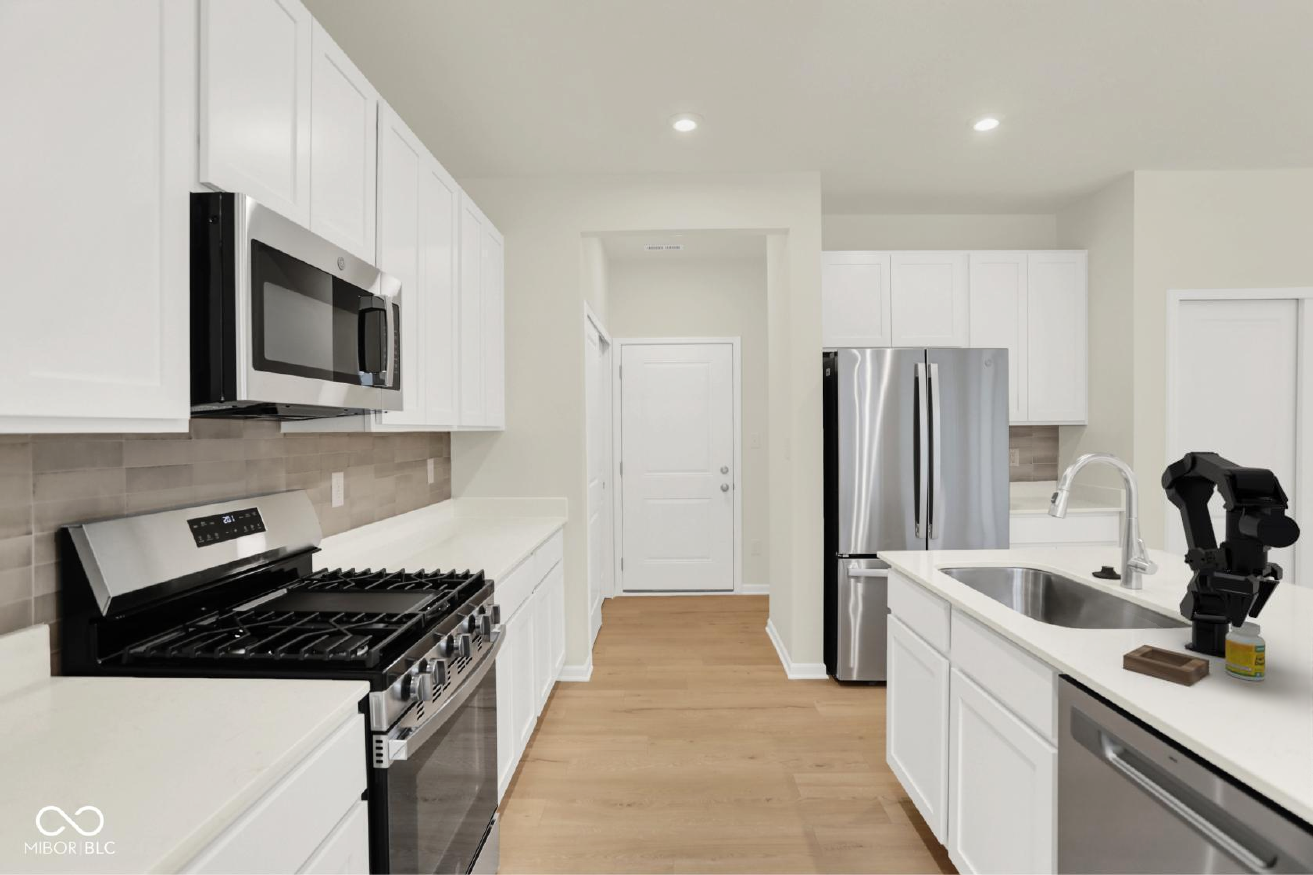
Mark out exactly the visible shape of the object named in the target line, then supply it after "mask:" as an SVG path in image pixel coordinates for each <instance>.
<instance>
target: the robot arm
mask: <svg viewBox="0 0 1313 875" xmlns="http://www.w3.org/2000/svg"><path fill="white" fill-rule="evenodd" d="M1160 481H1161V486H1162V489H1163V490H1165V493H1166V497H1167V498H1166V499H1167V500H1168V501H1169V502H1171V504H1173V505H1174V506H1175V507H1176V508H1178V510H1179V512H1180V514H1179V515H1180V517H1181V518H1180V519H1181V522H1182V527H1183V531H1184V535H1185V539H1186V544H1187V553H1185V554H1184V563H1185V564H1186V565H1188V566H1189V568H1190V571H1192V572H1193V574H1192V576H1191V578H1190V580H1189V582H1188V583H1187V585H1186V593H1185V595H1184V597H1183V598H1182V600H1181V601H1180V603H1179V611H1180V616H1182V617H1183V618H1185V619H1186V620H1188V621H1189V622H1191V642H1189V643H1187V644H1185V645H1184V648H1185V649H1187V650H1192V651H1196V652H1200V653H1203V654H1208V655H1213V656H1217V657H1222V658H1226V634H1227V633H1229V632H1230V625H1231V623H1232V626H1234V627H1238V628H1240V627H1241V626H1242V625H1243V623H1244V621H1246V619H1247V617H1248V618H1252V619H1257V618H1258V617H1259V615H1260V614H1261V612H1262V610H1263V609H1264V607H1265V606H1266V604H1267V602H1268V601H1269V599H1270V598H1271V596H1272V595H1273V593H1274V592H1275V590H1276V589H1277V587H1278V586H1279V584H1280V583H1281V580H1283V574H1284V569H1283V567H1281V566H1280V565H1279V564H1278V563H1277V562H1272V561H1269V558H1268V557H1269V555H1268V554H1269V551H1270V550H1272V548H1274V549H1283V548H1288V547H1291V546H1292V545H1294V544H1295V543H1296V542H1297V541H1298V539H1299V538H1300V535H1301V529H1300V527H1299V525H1298V523H1297V522H1296V521H1295V519H1293V518H1292V517H1290V516H1288V515H1286V510H1289V505H1288V503H1289V498H1288V496H1287V494H1286V493H1285V491H1284V489H1283V487H1282V486H1281V483H1280V480H1279V479H1278V477H1277V476H1276V475H1275V474H1274V472H1273V471H1272V470H1270V469H1268V468H1261V467H1249V466H1247V467H1246V466H1241V465H1239V464H1237V463H1235V462H1233V461H1231V460H1229V459H1226V458H1224V457H1223V456H1220V454H1219V453H1218V452H1214V451H1190V452H1186V453H1185V454H1184V456H1183V457H1182V458H1180V459H1179V460H1177V461H1175V462H1173V463H1171V464H1169V465H1167V467H1166V468H1165V470H1164V472H1163V473H1162V475H1161V479H1160ZM1216 486H1217V487H1216ZM1215 487H1216V488H1217V489H1216V492H1218V493H1219V494H1220V496H1221V497H1222V499H1223V502H1224V503H1223V505H1222V508H1223V509H1224V510H1225V537H1224V538H1225V539H1224V541H1221V542H1220V543H1219V547H1218V542H1217V538H1216V535H1215V534H1216V533H1215V531H1214V530H1215V529H1214V526H1213V523H1212V519H1211V518H1212V517H1211V514H1210V510H1209V506H1208V503H1209V502H1210V500H1211V499H1212V498H1213V495H1214V493H1215ZM1270 578H1273V579H1270Z"/></svg>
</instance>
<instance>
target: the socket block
mask: <svg viewBox="0 0 1313 875" xmlns="http://www.w3.org/2000/svg"><path fill="white" fill-rule="evenodd" d="M1122 658H1123V660H1122V663H1123V664H1122V666H1123V667H1122V668H1123V669H1125V670H1128V671H1132V672H1135V673H1139V674H1142V673H1144V674H1143V675H1146V674H1147V675H1146V676H1149V675H1151V676H1150V677H1152V678H1153V677H1154V678H1157V677H1160V678H1162V679H1161V680H1164V679H1165V681H1168V680H1171V681H1174V682H1173V683H1175V682H1176V683H1175V684H1179V685H1182V684H1184V685H1183V686H1187V687H1190V686H1192V685H1194V684H1195V683H1197V682H1199V681H1200V680H1201V679H1203V678H1205V677H1206V676H1208V675H1209V674H1210V659H1207V658H1203V657H1199V656H1195V655H1189V654H1187V653H1186V654H1185V653H1182V652H1181V653H1180V652H1177V651H1173V650H1169V649H1165V648H1161V647H1156V646H1152V645H1149V644H1143V645H1141V646H1140V647H1137V648H1135V649H1134V650H1131V651H1129V652H1127V653H1125V654H1123V656H1122ZM1160 678H1159V679H1160ZM1171 681H1170V682H1171Z"/></svg>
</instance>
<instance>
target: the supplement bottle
mask: <svg viewBox="0 0 1313 875" xmlns="http://www.w3.org/2000/svg"><path fill="white" fill-rule="evenodd" d="M1229 629H1230V630H1231V631H1229V633H1227V634H1226V657H1225V662H1224V663H1225V668H1224V669H1225V672H1226V673H1227V674H1228V675H1230V676H1232V677H1234V678H1235V679H1236V678H1237V679H1241V680H1245V681H1254V682H1258V681H1259V682H1260V681H1263V680H1265V677H1266V641H1265V639H1264V637H1262V636H1261V635H1260V634H1261V633H1262V631H1261V626H1260V625H1259V624H1257V623H1256V622H1255V623H1254V622H1251V621H1246V620H1245V621H1244V623H1243V625H1242V626H1241V627H1240V628H1238V627H1234V626H1232V623H1231V624H1230V626H1229Z"/></svg>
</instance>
